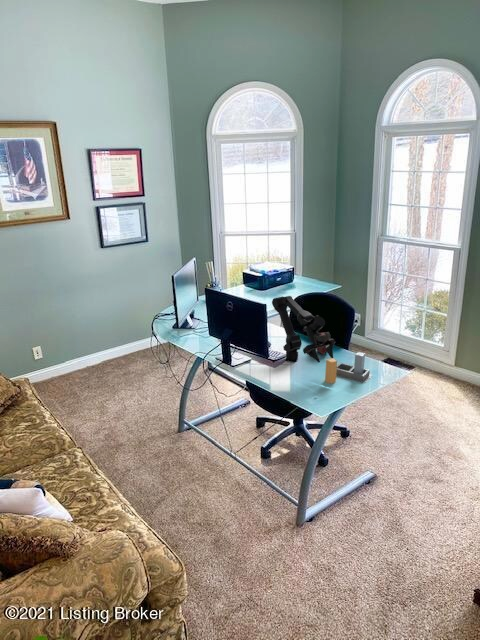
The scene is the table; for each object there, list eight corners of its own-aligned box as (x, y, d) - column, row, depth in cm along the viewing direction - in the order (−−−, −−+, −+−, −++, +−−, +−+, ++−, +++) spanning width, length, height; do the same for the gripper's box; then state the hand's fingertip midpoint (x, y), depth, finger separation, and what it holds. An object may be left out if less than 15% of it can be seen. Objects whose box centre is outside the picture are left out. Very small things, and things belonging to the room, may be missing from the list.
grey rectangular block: (351, 376, 255) (353, 354, 251) (355, 372, 259) (357, 351, 255) (361, 379, 253) (363, 356, 248) (364, 375, 257) (366, 353, 252)
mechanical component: (329, 349, 292) (331, 355, 283) (313, 349, 292) (315, 355, 283) (330, 330, 288) (333, 336, 278) (314, 330, 288) (316, 336, 278)
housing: (329, 374, 259) (330, 368, 258) (338, 366, 268) (339, 360, 267) (364, 384, 248) (365, 378, 247) (372, 375, 258) (373, 369, 256)
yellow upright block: (323, 381, 252) (324, 359, 247) (330, 379, 255) (332, 357, 250) (329, 385, 248) (331, 363, 243) (337, 383, 250) (338, 360, 246)
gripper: (307, 331, 245) (320, 358, 240) (334, 324, 254) (347, 350, 249) (297, 340, 254) (309, 366, 249) (323, 333, 263) (336, 358, 258)
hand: (326, 360), depth 251 cm, fingers open, 9 cm apart
